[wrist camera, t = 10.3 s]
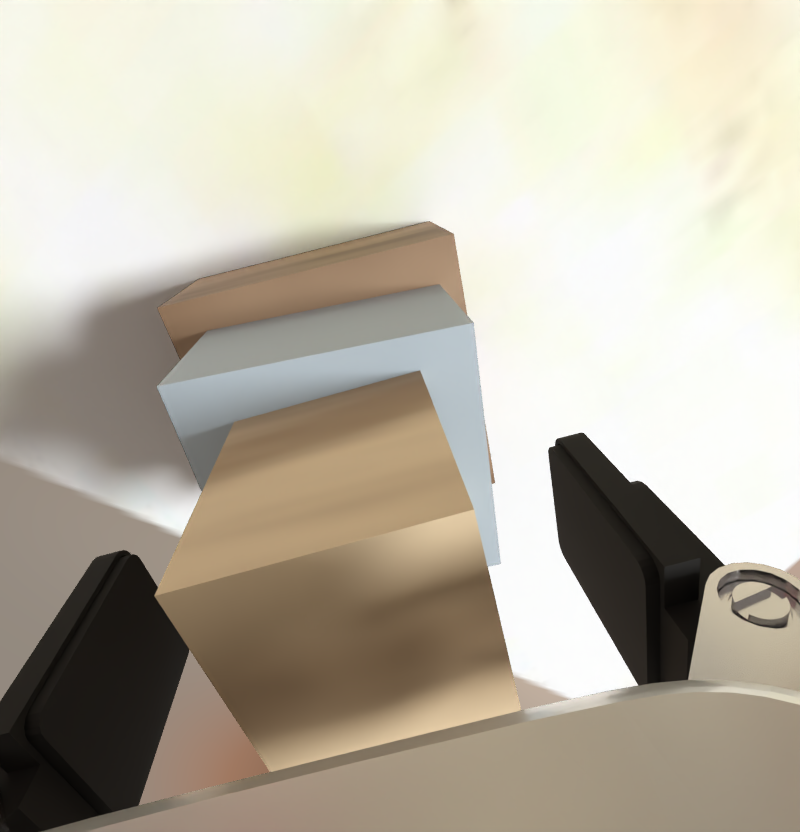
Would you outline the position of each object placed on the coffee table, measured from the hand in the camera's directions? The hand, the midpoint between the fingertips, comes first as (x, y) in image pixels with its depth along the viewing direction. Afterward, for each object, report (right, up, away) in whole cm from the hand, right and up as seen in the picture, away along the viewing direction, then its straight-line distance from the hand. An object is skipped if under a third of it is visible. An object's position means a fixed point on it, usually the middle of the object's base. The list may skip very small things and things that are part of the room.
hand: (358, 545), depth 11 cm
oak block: (0, +1, +3) cm, 3 cm away
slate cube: (-1, +3, +7) cm, 8 cm away
